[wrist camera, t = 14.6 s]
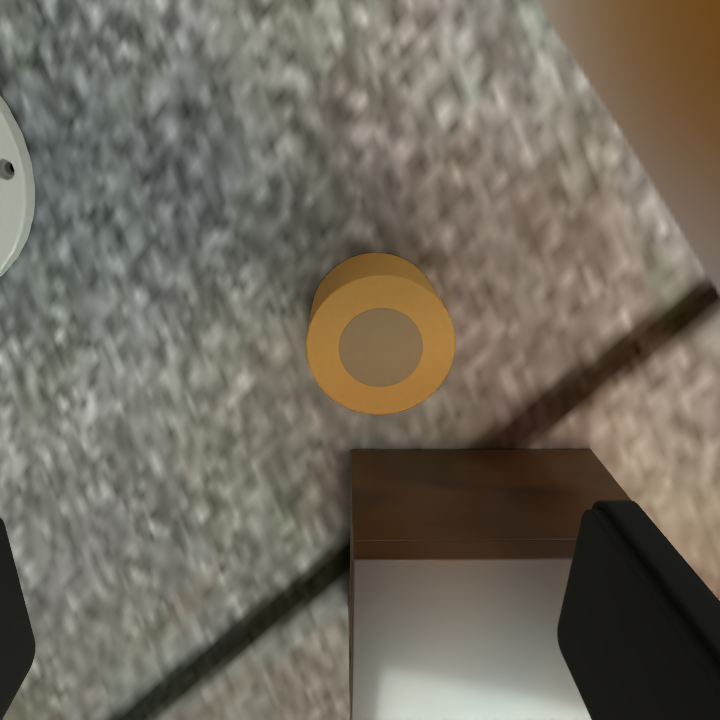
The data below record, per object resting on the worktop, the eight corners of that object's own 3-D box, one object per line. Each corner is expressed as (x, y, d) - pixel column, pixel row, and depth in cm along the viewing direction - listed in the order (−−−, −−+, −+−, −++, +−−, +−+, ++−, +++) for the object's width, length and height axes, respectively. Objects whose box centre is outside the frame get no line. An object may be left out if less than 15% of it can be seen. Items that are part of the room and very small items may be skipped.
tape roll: (313, 374, 30) (307, 416, 25) (309, 252, 28) (302, 274, 23) (434, 373, 30) (450, 414, 26) (441, 252, 28) (461, 274, 23)
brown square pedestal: (348, 608, 36) (350, 749, 28) (350, 449, 32) (353, 560, 23) (560, 606, 37) (624, 744, 28) (591, 448, 32) (678, 557, 24)
